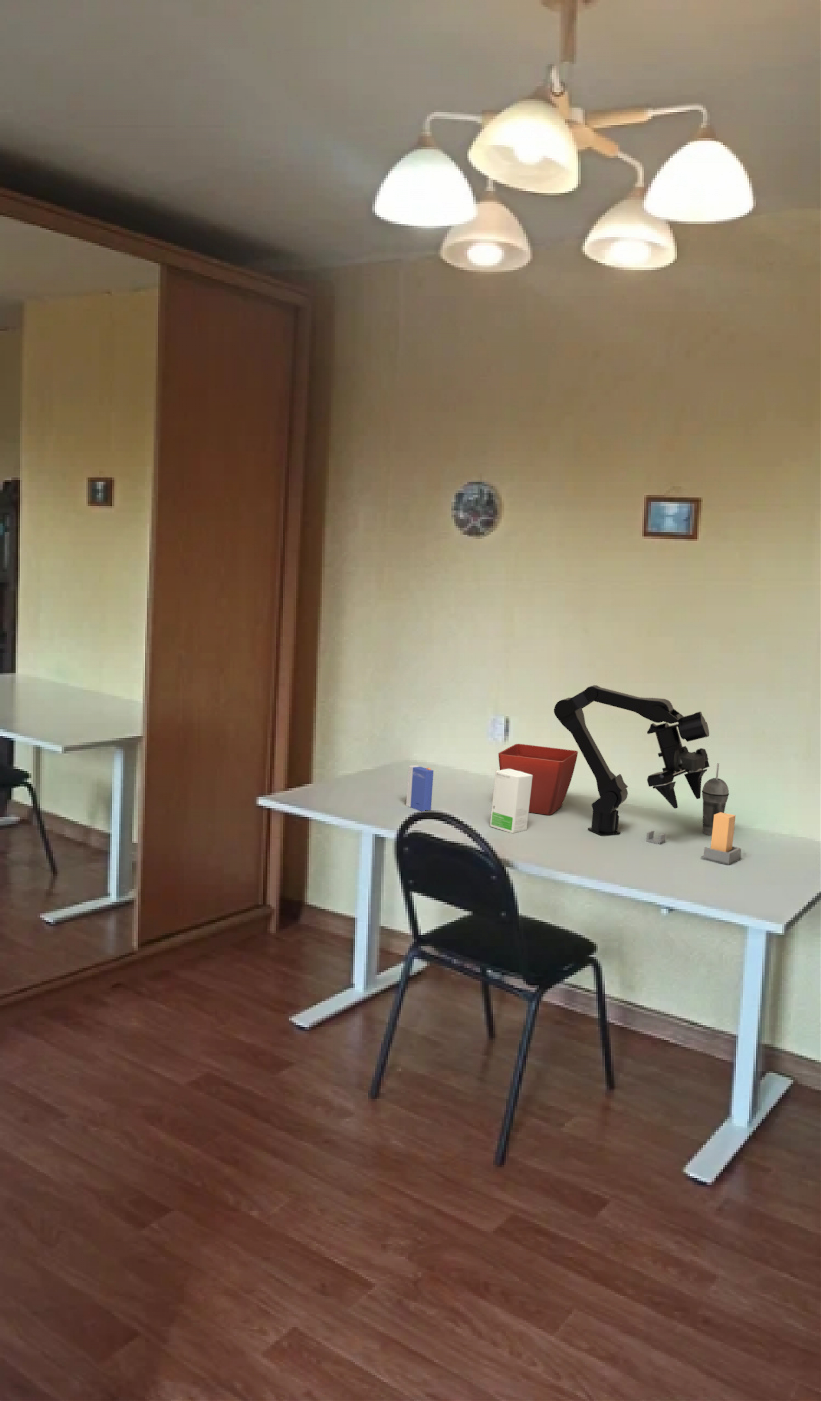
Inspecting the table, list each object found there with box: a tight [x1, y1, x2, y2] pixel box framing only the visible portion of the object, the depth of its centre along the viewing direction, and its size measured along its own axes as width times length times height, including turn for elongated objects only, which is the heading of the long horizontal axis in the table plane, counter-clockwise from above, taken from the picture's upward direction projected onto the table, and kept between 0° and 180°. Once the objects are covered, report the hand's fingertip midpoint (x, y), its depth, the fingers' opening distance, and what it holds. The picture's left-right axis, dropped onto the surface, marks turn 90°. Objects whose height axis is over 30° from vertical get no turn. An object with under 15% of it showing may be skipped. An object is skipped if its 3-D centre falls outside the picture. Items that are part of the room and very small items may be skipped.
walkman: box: [405, 764, 434, 812], centre depth 318 cm, size 8×3×12 cm, turn 39°
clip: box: [645, 830, 667, 845], centre depth 298 cm, size 3×4×2 cm
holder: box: [700, 845, 742, 866], centre depth 285 cm, size 7×7×3 cm
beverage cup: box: [701, 763, 730, 836], centre depth 309 cm, size 7×7×20 cm
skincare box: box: [489, 769, 533, 834], centre depth 301 cm, size 8×7×16 cm
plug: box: [710, 812, 736, 852], centre depth 284 cm, size 4×4×11 cm
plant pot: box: [497, 743, 579, 816], centre depth 326 cm, size 19×19×17 cm
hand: (687, 803), depth 294 cm, fingers open, 9 cm apart
